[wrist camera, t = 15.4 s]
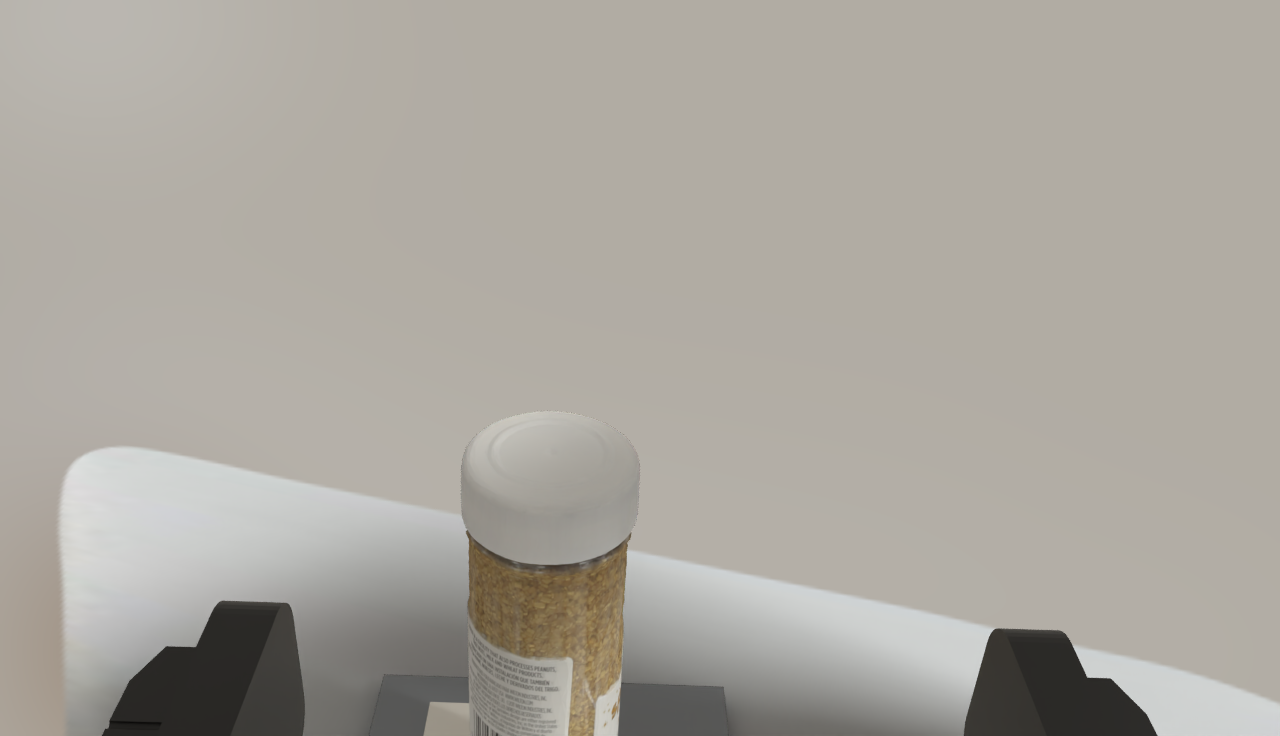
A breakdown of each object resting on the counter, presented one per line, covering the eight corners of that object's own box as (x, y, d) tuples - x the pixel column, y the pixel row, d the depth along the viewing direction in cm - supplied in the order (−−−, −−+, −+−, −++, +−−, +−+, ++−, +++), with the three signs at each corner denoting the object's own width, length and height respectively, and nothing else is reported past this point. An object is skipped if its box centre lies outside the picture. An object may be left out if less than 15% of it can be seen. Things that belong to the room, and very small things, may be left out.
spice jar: (644, 821, 35) (679, 461, 29) (525, 904, 33) (534, 528, 26) (553, 731, 38) (566, 386, 32) (437, 801, 36) (424, 439, 29)
